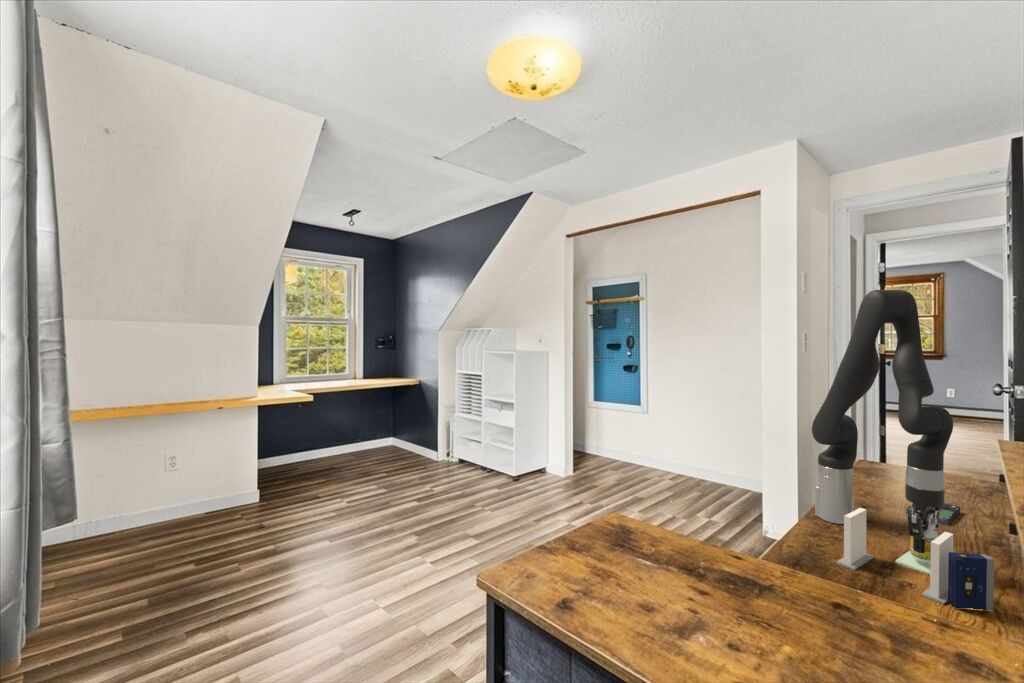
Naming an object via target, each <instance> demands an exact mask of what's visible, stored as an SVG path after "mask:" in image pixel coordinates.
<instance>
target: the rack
mask: <svg viewBox="0 0 1024 683" xmlns="http://www.w3.org/2000/svg"><path fill="white" fill-rule="evenodd" d="M954 536H955V535H954V533H951V532H947V531H944V532H943V533H941V534H940V535H938V537H937V538H936V539H934V540H933V541H932V542H931V564H930V575H929V576H930V577H929V578H930V579H929V580H930V582H929V584H930V585H929V587H928V588H927V589H926V590H924V591H923V592H921V595H922V596H924V597H926V598H925V599H927V598H929V599H928V600H930V599H931V600H930V601H932V600H934V601H933V602H935V601H936V602H935V603H937V602H939V603H938V604H940V603H941V604H940V605H943V604H945V603H946V604H948V562H949V552H954ZM872 559H874V555H872V554H869V553H867V509H866V508H862V507H858V508H856V509H855V510H853V512H851V513H849V514H847V515H845V516H844V524H843V557H841V558H840V559H838V560H837V561H836V564H837V565H839V566H841V567H843V568H847V569H849V570H852V571H856V570H857V569H859V568H860V567H862V566H863V565H865V564H866V563H868V562H869V561H871V560H872ZM922 596H921V597H922ZM924 597H923V598H924ZM946 604H945V605H946Z"/></svg>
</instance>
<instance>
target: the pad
mask: <svg viewBox="0 0 1024 683" xmlns="http://www.w3.org/2000/svg"><path fill="white" fill-rule="evenodd" d="M894 563H895V564H896V563H897V565H899V566H903V567H905V568H908V569H911V570H914V571H916V570H918V571H917V572H919V571H920V572H919V573H922V572H924V573H923V574H925V573H927V574H926V575H928V574H929V575H928V576H930V564H931V563H928V562H923V561H920V560H917V559H915V558H914V557H912V555H911V550H908V551H907V552H906V553H904V554H903V555H901V556H900V557H898V558H897V559H896V560H895V561H894Z"/></svg>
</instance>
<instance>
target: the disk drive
mask: <svg viewBox="0 0 1024 683" xmlns="http://www.w3.org/2000/svg"><path fill="white" fill-rule="evenodd" d="M913 508H914V504H913V503H912V504H910V505H909V506H907V507H906V515H907V514H911V513H912V509H913ZM960 513H961V506H958V505H954V504H949V503H947V502H946V503H945V502H944V505H943V506H942V507H940V514H939V523H940V525H944V526H947V527H949V526H950V525H951V524H952V523H953V522H954V521H955V519H956V518H957V517H958V516H959V515H960Z"/></svg>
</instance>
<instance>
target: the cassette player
mask: <svg viewBox="0 0 1024 683" xmlns="http://www.w3.org/2000/svg"><path fill="white" fill-rule="evenodd" d="M994 592H995V559H994V558H993V557H992V556H988V555H987V554H983V553H970V552H968V553H967V552H954V551H953V552H949V562H948V602H947V604H949V605H950V604H951V605H952V606H953V607H955V608H973V609H983V610H991V611H993V612H994V604H995V602H994V601H995V600H994V598H995V597H994V596H995V595H994V594H995V593H994ZM951 605H950V606H951ZM952 606H951V607H952ZM953 607H952V608H953ZM955 608H954V609H955Z"/></svg>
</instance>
